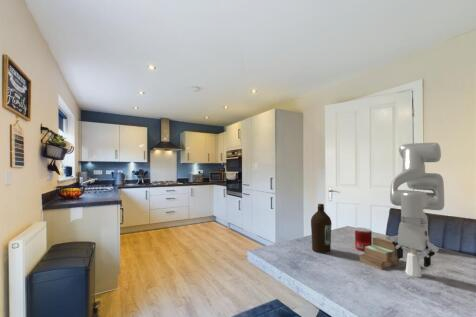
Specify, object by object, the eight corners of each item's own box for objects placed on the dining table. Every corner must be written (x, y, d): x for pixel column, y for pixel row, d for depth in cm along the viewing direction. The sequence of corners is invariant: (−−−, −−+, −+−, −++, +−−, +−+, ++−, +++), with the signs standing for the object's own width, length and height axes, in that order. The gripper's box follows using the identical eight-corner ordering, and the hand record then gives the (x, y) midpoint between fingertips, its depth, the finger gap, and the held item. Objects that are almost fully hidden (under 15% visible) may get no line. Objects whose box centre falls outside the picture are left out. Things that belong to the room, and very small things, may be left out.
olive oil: (307, 250, 123) (307, 203, 125) (316, 245, 131) (316, 202, 132) (326, 255, 116) (325, 206, 117) (335, 250, 123) (334, 204, 124)
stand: (377, 255, 116) (377, 236, 117) (400, 263, 107) (400, 243, 107) (359, 261, 109) (359, 241, 109) (382, 270, 100) (382, 248, 100)
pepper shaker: (414, 271, 99) (413, 245, 99) (425, 277, 93) (424, 250, 94) (402, 271, 99) (401, 245, 99) (412, 277, 93) (411, 250, 94)
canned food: (374, 252, 121) (373, 231, 121) (357, 251, 122) (357, 230, 123) (368, 247, 128) (368, 227, 129) (353, 246, 130) (353, 227, 130)
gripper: (441, 224, 91) (442, 268, 90) (394, 216, 106) (395, 253, 105) (433, 226, 87) (434, 272, 86) (385, 218, 102) (386, 256, 102)
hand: (413, 262), depth 96 cm, fingers open, 9 cm apart
